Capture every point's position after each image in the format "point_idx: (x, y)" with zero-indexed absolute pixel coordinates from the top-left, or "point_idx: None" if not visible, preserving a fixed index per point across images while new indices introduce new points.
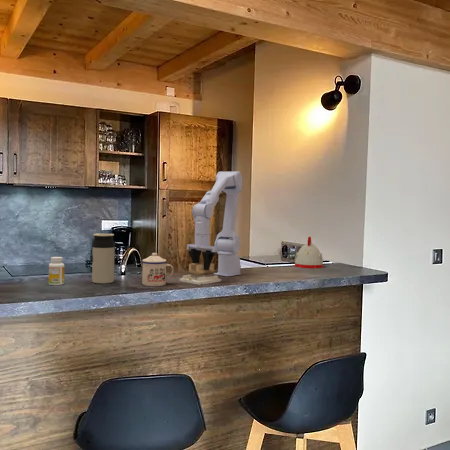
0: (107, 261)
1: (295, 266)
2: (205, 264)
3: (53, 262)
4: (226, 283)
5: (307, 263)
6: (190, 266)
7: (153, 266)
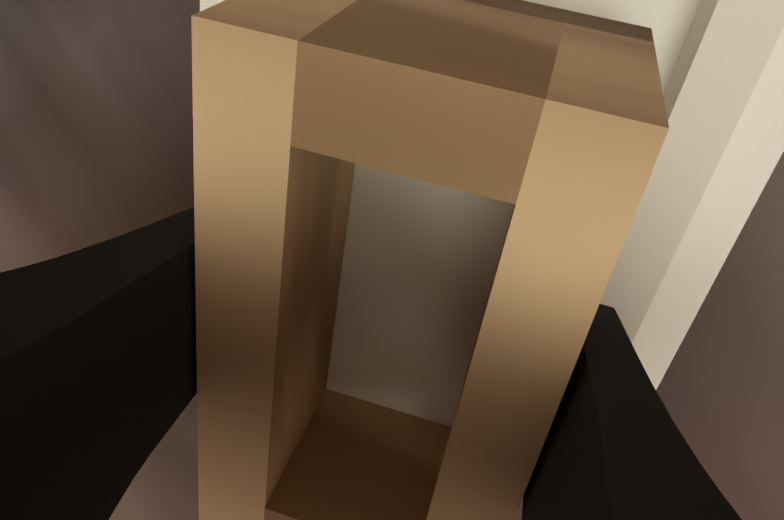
0: None
1: None
2: (121, 236)
3: None
4: (57, 198)
5: None
6: (585, 82)
7: None
